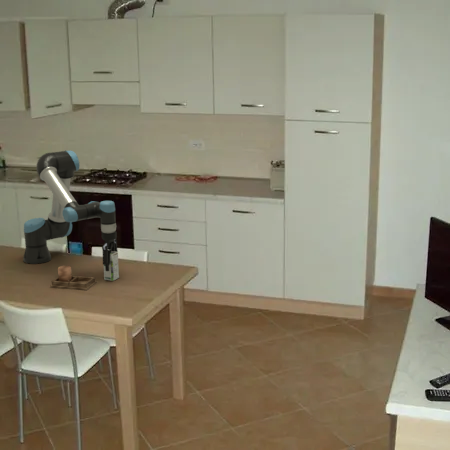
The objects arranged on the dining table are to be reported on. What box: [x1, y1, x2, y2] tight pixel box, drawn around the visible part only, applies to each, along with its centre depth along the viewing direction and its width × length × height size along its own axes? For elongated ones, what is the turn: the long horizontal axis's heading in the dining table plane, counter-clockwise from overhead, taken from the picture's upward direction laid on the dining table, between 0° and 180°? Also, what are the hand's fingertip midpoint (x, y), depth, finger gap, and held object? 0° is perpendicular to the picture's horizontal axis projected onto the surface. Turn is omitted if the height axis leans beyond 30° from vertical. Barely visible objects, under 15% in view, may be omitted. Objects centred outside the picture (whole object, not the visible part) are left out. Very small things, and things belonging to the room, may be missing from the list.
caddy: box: [49, 265, 98, 291], centre depth 350 cm, size 20×12×9 cm, turn 75°
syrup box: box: [103, 251, 120, 282], centre depth 358 cm, size 6×6×14 cm
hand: (111, 274), depth 359 cm, fingers closed on syrup box, 7 cm apart
